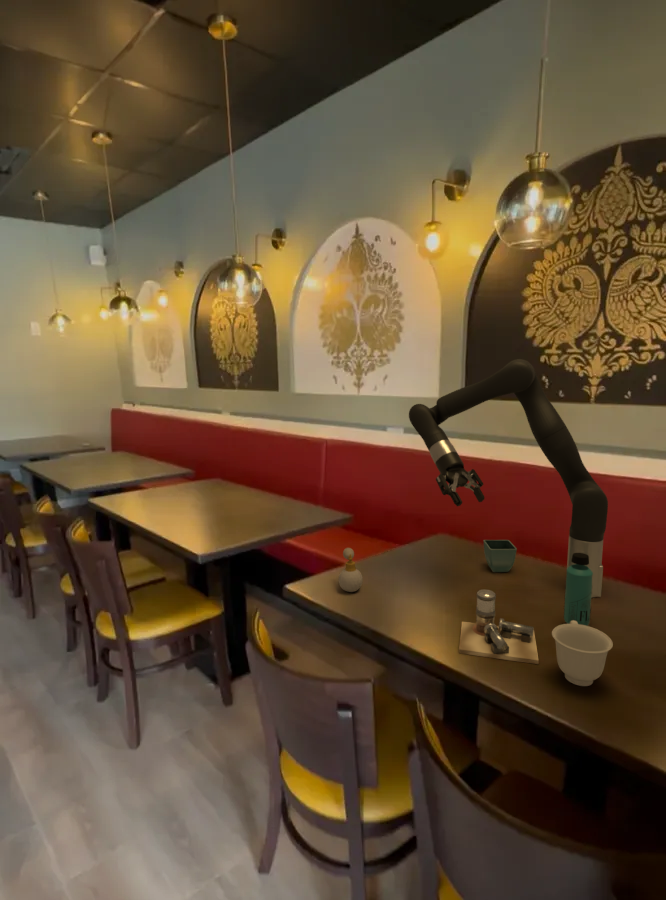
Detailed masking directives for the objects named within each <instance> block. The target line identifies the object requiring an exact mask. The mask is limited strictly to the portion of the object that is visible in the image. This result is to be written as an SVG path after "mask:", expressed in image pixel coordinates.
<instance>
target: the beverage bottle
mask: <svg viewBox="0 0 666 900" xmlns="http://www.w3.org/2000/svg"><path fill="white" fill-rule="evenodd" d="M571 561H572V562H573V563H574V564H573V565H571V566H569V567H568V568H567V567H566V576H565V578H566V580H565V592H564V601H563V602H564V603H563V604H564V606H563V619H564V620H563V621H564V622H565V623H566V624H570V622H571V621H573V620H574V621H577V623H578V624H580V625H586V626H590V625H589V624H590V623H591V622H590V621H591V615H592V606H591V605H592V598H591V595H592V587H593V586H592V584H593V583H592V575H593V572H592V571H591V569H590V568H588V567H587V566H585V565H588V564H589V556H588V555H587V554H584V553H573V555H572V560H571Z"/></svg>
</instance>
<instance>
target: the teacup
mask: <svg viewBox="0 0 666 900" xmlns="http://www.w3.org/2000/svg"><path fill="white" fill-rule="evenodd" d="M551 636H552V638H553V639H554V642H555V652H556V661H557V664H558V667H559V669H560V670H561V671H562V672H563V673H564V677H565V679H566V680H567V681H568V682H569V683H572V684H573V685H576V686H580V687H588V686H592V684H593V683H594V681H595V680H597V679H598V678H600V677H601V675H602V673H603V672H604V669H605V664H606V660H607V655H608V653H609V651H610V650H611V649H613V645H614V644H613V643H614V642H613V640H612V639H611V638H610V636H609V635H607V634H606V633H605V632H603V631H602V630H599V629H597V628H596V627H595V628H594V627H592V626H590V625H588V626H586V625H580V624H578V623H577V621H574V620H573V621H571V622H570V624H568V623H563V624H562V623H561V624H559V625H556V626H555V627H554V628H553V629H552V631H551Z"/></svg>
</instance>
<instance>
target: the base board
mask: <svg viewBox="0 0 666 900" xmlns="http://www.w3.org/2000/svg"><path fill="white" fill-rule="evenodd" d="M496 626H497V627H498V629H499V625H496ZM498 632H499V630H498ZM499 633H500V635H501V636H502V632H499ZM459 637H460V638H459V647H458V653H459V654H464V655H470V656H475V657H477V656H478V657H484V658H490V659H498V660H499V659H500V660H505V661H512V662H518V663H519V662H520V663H528V664H536V665H539V656H538V655H539V654H538V649H537V648H538V647H537V642H536V636H535V630H533V637H531V639H530V643H527V642H522V641H521V634H516V633H512V636H511V639H508V638H504V637H502V638H503V639H504V640H505V642H506V643H507V645H508V646H509V653H504V654H494V653H493V652H492V650H491V644H487V643H486V641H485V640H484V639H485V634H484V633H480V632H478V631H477V630H476V622H469V621H461V628H460V636H459Z"/></svg>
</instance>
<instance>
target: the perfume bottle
mask: <svg viewBox="0 0 666 900" xmlns="http://www.w3.org/2000/svg"><path fill="white" fill-rule="evenodd" d="M342 556H343V558H344V559H346V560H347V561H346V562H345V568H343V570H341V571H340V573H339V575H338V585H339V586H340V588H341V589H342V590H343V591H345V592H347V593H354V592H356V591H358V590H360V588H361V587H362V585H363V580H364V579H363V574H362V573H361V571H360V570H359V569H357V568H356V562H355V561H353V559H354V557H355V552H354V550H353V549H352V548H351V547H346V548H344V550H343V552H342Z"/></svg>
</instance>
